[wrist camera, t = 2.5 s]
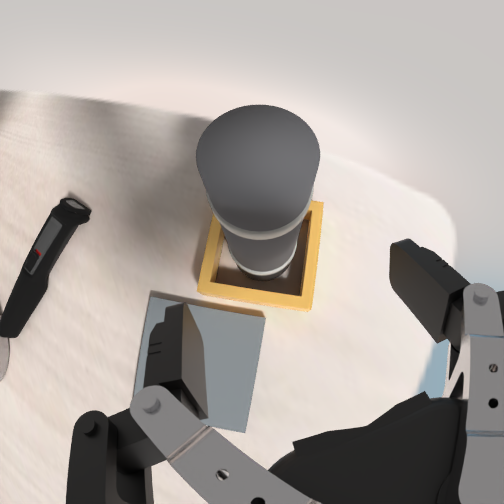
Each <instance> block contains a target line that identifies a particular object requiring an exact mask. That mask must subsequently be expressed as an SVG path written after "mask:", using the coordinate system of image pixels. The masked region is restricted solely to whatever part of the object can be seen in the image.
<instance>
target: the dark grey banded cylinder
mask: <svg viewBox="0 0 504 504" xmlns="http://www.w3.org/2000/svg"><path fill="white" fill-rule="evenodd" d="M196 161H197V167H198V170H199V173H200V175H201V178H202V180H203V183H204V185H205V188H206V193H207V198H208V202H209V204H210V206H211V209H212V211H213V213H214V215H215V217H216V218H217V220H218V221H219V223H220V225H221V227H222V230H223V232H224V235H225V237H226V240H227V242H228V247H229V251H230V253H231V256H232V258H233V260H234V261H235V263H236V264H237V266H238V268H239V269H240V270H241V272H242V273H243V274H245V275H246V276H247V277H249V278H251V279H254V280H258V281H268V280H272V279H275V278H277V277H279V276H280V275H281V274H283V273H284V272H285V271H286V269H287V268H288V266H289V264H290V261H291V260H292V258H293V256H294V253H295V250H296V247H297V239H298V235H299V232H300V229H301V225H302V222H303V219H304V217H305V215H306V213H307V211H308V209H309V206H310V203H311V199H312V196H313V187H314V181H315V177H316V173H317V170H318V166H319V161H320V149H319V144H318V141H317V138H316V136H315V134H314V133H313V131H312V129H311V128H310V127H309V126H308V125H307V123H306V122H305V121H303V120H302V119H301V118H300V117H298V116H297V115H295V114H293V113H292V112H289V111H288V110H285V109H282V108H279V107H275V106H269V105H250V106H243V107H239V108H236V109H233V110H230V111H228V112H226V113H224V114H223V115H221V116H219V117H218V118H217V119H215V120H214V121H213V122H212V123H211V124H210V125H209V126H208V127H207V128H206V130H205V131H204V132H203V134H202V136H201V138H200V140H199V143H198V146H197V151H196Z"/></svg>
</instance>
